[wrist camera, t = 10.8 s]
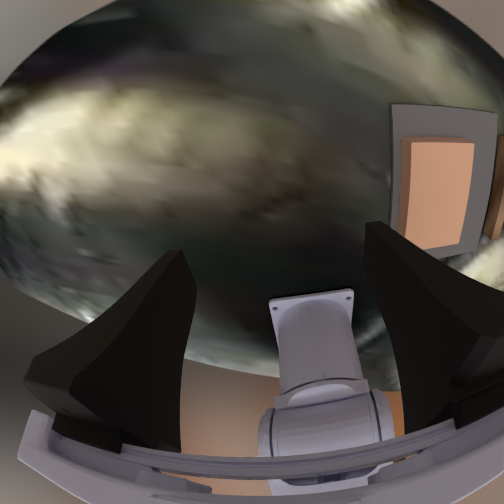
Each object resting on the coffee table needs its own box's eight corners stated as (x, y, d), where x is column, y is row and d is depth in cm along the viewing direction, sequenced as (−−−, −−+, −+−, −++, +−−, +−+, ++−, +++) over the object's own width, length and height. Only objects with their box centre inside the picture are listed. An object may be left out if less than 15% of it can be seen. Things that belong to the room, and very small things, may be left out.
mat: (473, 248, 22) (475, 250, 21) (384, 264, 23) (385, 267, 23) (494, 112, 14) (497, 113, 13) (389, 103, 15) (391, 104, 15)
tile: (458, 243, 19) (402, 253, 20) (450, 234, 21) (396, 242, 21) (474, 143, 14) (411, 142, 15) (463, 137, 15) (401, 137, 16)
